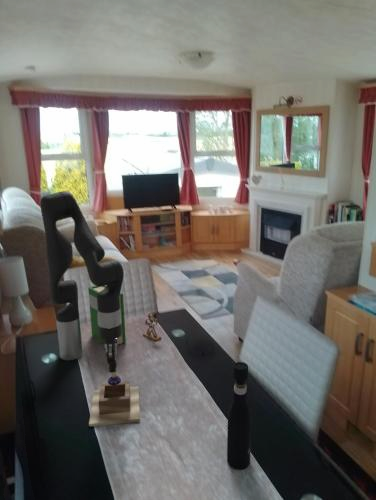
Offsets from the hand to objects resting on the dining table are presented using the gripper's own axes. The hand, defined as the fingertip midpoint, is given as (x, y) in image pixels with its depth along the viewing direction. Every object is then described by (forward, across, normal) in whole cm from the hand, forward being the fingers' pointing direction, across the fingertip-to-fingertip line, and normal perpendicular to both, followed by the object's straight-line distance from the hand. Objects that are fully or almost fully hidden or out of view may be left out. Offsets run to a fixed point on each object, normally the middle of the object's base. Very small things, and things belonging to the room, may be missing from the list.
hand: (112, 369), depth 131 cm
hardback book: (+14, -50, -5) cm, 52 cm away
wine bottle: (+14, +30, +35) cm, 48 cm away
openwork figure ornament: (+14, -49, +15) cm, 53 cm away
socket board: (+14, 0, 0) cm, 14 cm away
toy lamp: (+5, 0, 0) cm, 5 cm away
